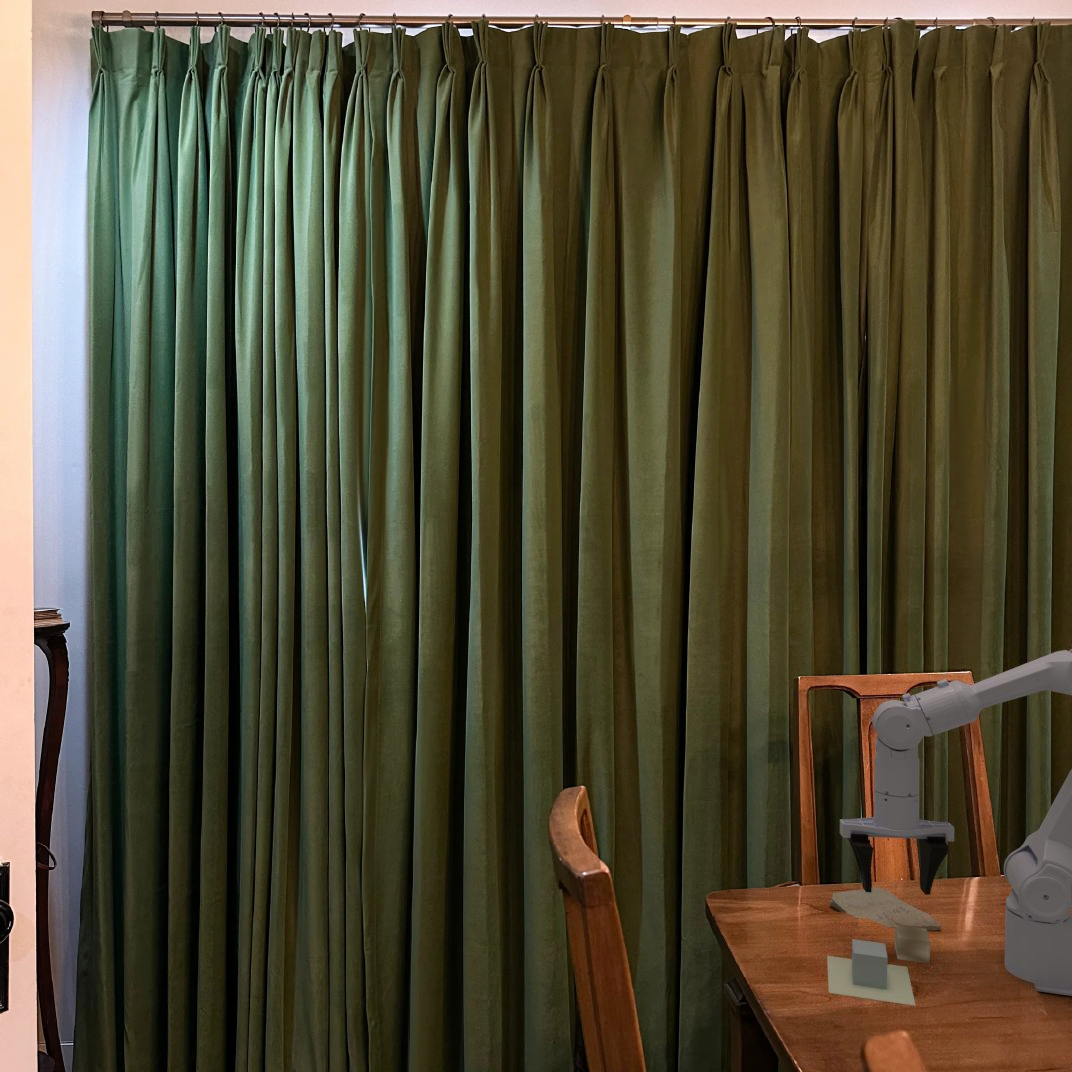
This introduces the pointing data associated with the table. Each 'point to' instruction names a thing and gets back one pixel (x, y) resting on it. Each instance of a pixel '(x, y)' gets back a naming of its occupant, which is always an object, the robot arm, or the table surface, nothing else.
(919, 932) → the cream cube
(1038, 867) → the robot arm
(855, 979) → the slate cube
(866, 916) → the stone
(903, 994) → the plate
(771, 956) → the table surface
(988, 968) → the table surface
